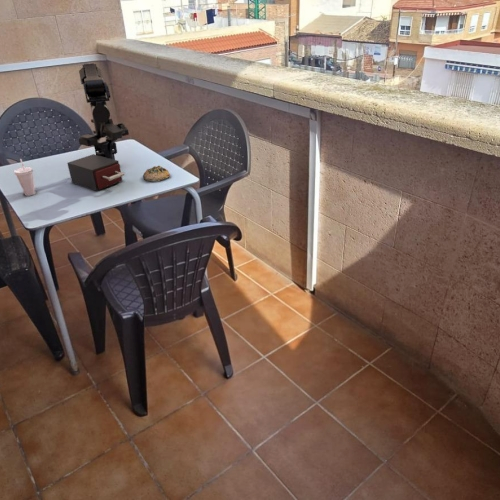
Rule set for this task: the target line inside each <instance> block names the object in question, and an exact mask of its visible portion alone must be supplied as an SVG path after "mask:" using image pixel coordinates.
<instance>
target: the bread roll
mask: <svg viewBox="0 0 500 500" xmlns="http://www.w3.org/2000/svg"><path fill="white" fill-rule="evenodd" d="M142 177H143V180H145V181H148V182H161V181H164V180H165V179H169V178H170V171H169V170H168V169H167V168H166V167H163V166H160V165H157V166H153V167H151V168H148V169H146V170H145V172H144V173H143V175H142Z"/></svg>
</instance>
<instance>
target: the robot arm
mask: <svg viewBox="0 0 500 500" xmlns="http://www.w3.org/2000/svg"><path fill="white" fill-rule="evenodd" d="M78 73H79V80H80V84H81V85H82V86H83V90H84V96H85V100H86V103H87V104H88V103H89V106H90V112H91V116H92V119H90V122H91V123H92V124H93V127H94V130H92V132H93V134H88V133H87V134H84V135H80V136H79V137H78V144H79V145H81V146H85V147H92V146H93V148H94V154H95V155H98V156H102V157H106V158H109V159H113V160H116V157H115V155H117V153H118V148H117V143H116V141H118V140H119V139H123V137H126V136H129V135H130V134H129V133H130V131H129V128H128V127H127V126H125V123H123V122H120V123H116V124H115V123H114V122H113V119H112V118H111V111H110V109H109V107H108V102H110V99H111V93H110V89H109V85H108V84H107V82H106V81H104V77H103V73H102V69H101V68H99V67H98V66H97V63H94V62H89V63H84V64H82V67H81V68H80V69H79V70H78Z"/></svg>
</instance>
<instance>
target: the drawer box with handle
mask: <svg viewBox="0 0 500 500" xmlns="http://www.w3.org/2000/svg"><path fill="white" fill-rule="evenodd" d="M117 163H118V164H120V163H119V160H116V159H115V160H113V159H109V158H106V157H102V156H98V155H96V154H95V153H93V154H90V155H86V156H84V157H81V158H78V159H74V160H71V161H69V162H67V168H68V171H69V176H70V180H71V183H72V184H74V185H77V186H80V187H83V188H86V189H89V190H92V191H95V192H99V191H100V190H104V189H107V188H108V187H111V186H112V185H115V184H118V183H121V182H122V181H123V179H122V180H121V181H119V182H116V183H114V184H111V185H109V186H106V187H104V188H101V189H98V188H97V183H96V179H95V174H94V171H97V170H100V169H102V168H105V167H108V166H111V165H113V164H114V165H115V164H117Z"/></svg>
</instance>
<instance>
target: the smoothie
mask: <svg viewBox="0 0 500 500" xmlns="http://www.w3.org/2000/svg"><path fill="white" fill-rule="evenodd" d="M19 161H20V164H21V167H18V168H16V169H14V171H13V172H14V175H15V176H16V178H17V180H18V183H19V185H20V187H21V188H22V191H23V194H24V195H25V196H27V197H29V196H34V195H36V187H35V180H34V170H33V167H30V166H24V162H23V159H22V158H19Z"/></svg>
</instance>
